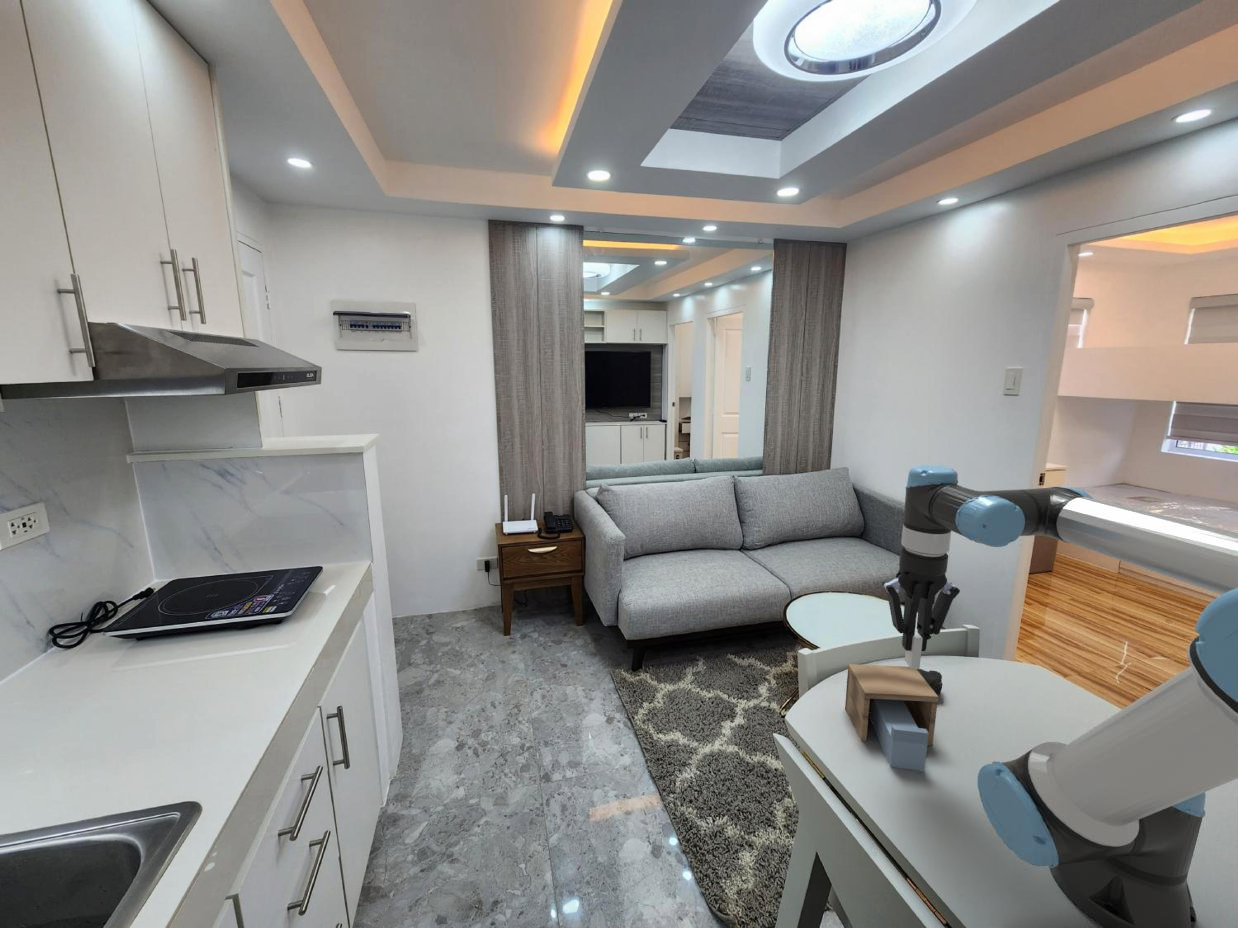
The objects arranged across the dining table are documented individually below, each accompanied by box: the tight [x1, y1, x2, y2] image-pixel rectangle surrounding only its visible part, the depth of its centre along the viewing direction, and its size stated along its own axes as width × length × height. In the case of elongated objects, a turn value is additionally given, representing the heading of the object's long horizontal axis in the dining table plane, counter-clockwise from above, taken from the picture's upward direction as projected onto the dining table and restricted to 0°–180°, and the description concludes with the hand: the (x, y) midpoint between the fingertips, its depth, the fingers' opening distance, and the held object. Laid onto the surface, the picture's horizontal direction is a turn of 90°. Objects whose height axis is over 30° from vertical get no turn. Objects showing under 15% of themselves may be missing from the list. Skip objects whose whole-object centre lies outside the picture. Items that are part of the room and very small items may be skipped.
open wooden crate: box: [844, 663, 939, 746], centre depth 106 cm, size 10×14×11 cm
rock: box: [917, 668, 943, 697], centre depth 115 cm, size 10×9×6 cm
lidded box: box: [869, 698, 929, 772], centre depth 101 cm, size 14×6×8 cm, turn 168°
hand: (911, 664), depth 95 cm, fingers closed
